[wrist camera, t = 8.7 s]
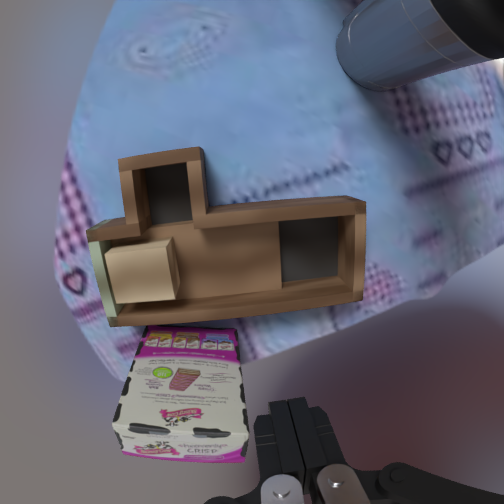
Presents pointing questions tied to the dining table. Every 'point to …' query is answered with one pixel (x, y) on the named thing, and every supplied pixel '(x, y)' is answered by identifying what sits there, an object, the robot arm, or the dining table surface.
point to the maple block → (143, 270)
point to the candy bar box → (184, 397)
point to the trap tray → (230, 246)
